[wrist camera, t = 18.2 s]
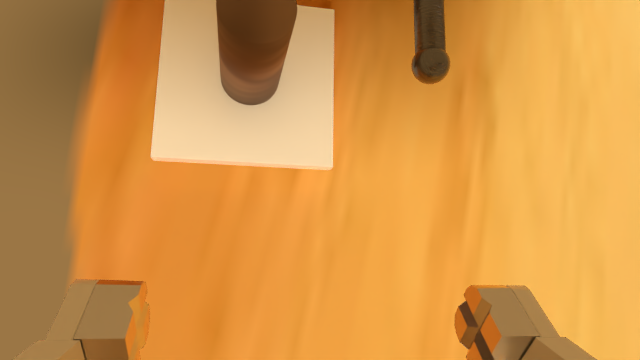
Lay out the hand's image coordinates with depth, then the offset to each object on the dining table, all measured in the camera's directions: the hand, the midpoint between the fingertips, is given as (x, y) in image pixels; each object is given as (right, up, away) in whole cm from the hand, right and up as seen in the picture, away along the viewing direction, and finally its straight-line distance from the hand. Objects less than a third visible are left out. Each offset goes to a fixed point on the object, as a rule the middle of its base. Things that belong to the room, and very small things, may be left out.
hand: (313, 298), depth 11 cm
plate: (-5, +10, +20) cm, 23 cm away
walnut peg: (-5, +10, +19) cm, 22 cm away
